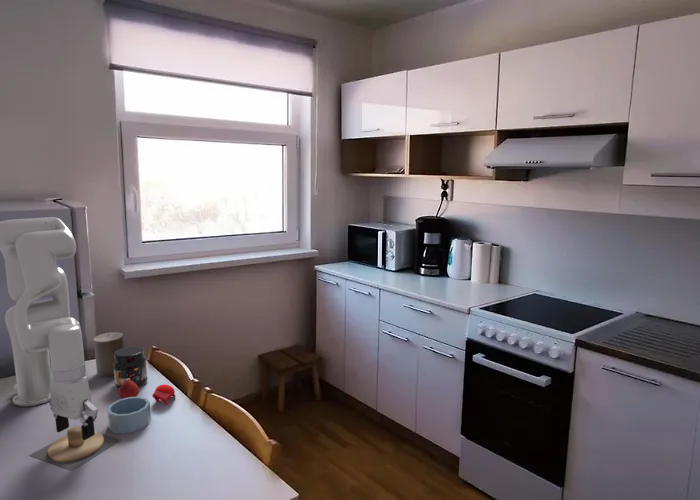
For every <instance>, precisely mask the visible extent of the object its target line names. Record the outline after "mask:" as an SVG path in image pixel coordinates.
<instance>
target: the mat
mask: <svg viewBox="0 0 700 500" xmlns="http://www.w3.org/2000/svg"><path fill="white" fill-rule="evenodd" d="M101 434H102V435H103V438H104V443H103V446H102V447H101V448H100V449H99V450H98V451H97V452H95V453H94V454H92V455H90V456H88V457H85V458H83V459H79V460H76V461H70V462H57V461H53V460H51V459H50V458H49V456H48V449H49V447H50V446H51V444H52V443H54V442H55V441H53V442H51V443H49V444H47V445H45V446H44V447H42V448H40V449H39V450H36V451H34V452H32V453H31V454H29V457H32V458H35V459H37V460H41V461H42V462H46V463H48V464H52V465H54V466H56V467H60V468H63V469H66V470H68V471H71V472H73V471H75V470H76V469H77V468H80V467H81V466H83V465H84V464H86V463H87V462H90V460H92V459H94V458H96V457H97V456H98V455H101V454H102V453H103V452H106V451H107V450H108V449H110V448H112V447H113V446H114V445H117V444H119V443H120V442H121V441H122V439H120V438H117V437H114V436H110V435H107V434H104V433H101Z"/></svg>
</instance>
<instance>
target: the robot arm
mask: <svg viewBox="0 0 700 500" xmlns="http://www.w3.org/2000/svg"><path fill="white" fill-rule="evenodd" d="M76 243H77V242H76V239H75V237H74V235H73V233H72V231H71V230H70V228H68V226H67V225H66V224H65V222H63V221H62V220H61V219H60V218H58V217H54V216H52V217H51V216H50V217H48V216H47V217H46V216H45V217H35V218H16V219H15V218H14V219H6V220H2V221H0V252H1V253H2V256H3V261H4V266H5V267H4V268H5V275H6V276H5V277H6V286H7V292H8V295H9V297H10V298H11V299H12V300H13V301H16V304H15V305H13V306H11V307H10V308H8V309H7V310H6V312H5V315H4V321H5V324H6V328H7V331H8V334H9V337H10V341H11V348H12V356H13V364H14V371H15V380H16V383H15V384H14V385H13V389H15V390H16V391H17V392H16V395H14V396H13V398H12V403H13V405H15V406H17V405H18V406H17V407H33V406H37V405H42V404H46V403H49V406H50V410H51V412H52V413H53V415H52V416H53V417H54V418H55V429H56V432H57V433H60V432H63V431H64V430H65V431H66V429H67V430H68V428H70V423H69V419H71V420H78V419H79V421H80V422H81V424H82V425H81V426H80V427H81V429H82V439H83V440H86V439H88V438H90V437H92V436H93V435H94V434H95V426H94V425H95V423H94V422H95V421H96V419H97V417H98V412H99V408H98V407H96V406H95V405H94V404H93V403H92V396H91V395H92V394H91V389H90V385H89V382H88V378H87V372H86V371H87V370H86V363H85V354H84V351H85V350H84V343H83V334H82V329H81V324H80V322H79V321H78V320H77V319H76V318H74V317H71V309H70V308H71V307H70V306H71V305H70V295H69V294H70V293H69V282H68V278H67V274H66V273H65V271H64V270H63V269H62V268H61V267H59V266H58V264H57V260H61V259H69V258H72V257H74V256H75V254H76V251H77V244H76ZM43 298H49V299H43ZM38 299H43V300H38ZM85 416H87V418H85Z"/></svg>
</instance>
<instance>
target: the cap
mask: <svg viewBox="0 0 700 500" xmlns="http://www.w3.org/2000/svg"><path fill="white" fill-rule="evenodd" d="M175 393H176V391H175V389H174V387H173V386H171V385H169V384H160V385H157V387H155V390H154V392H153V393H152V395H151V396H152V397H153V399H154V400H155V402H156V403H160V401H161V402H162V403H163V404H164V405H165V406H168V405H169V403H168V400H169V399H171V398H176V396H177V395H176V394H175Z"/></svg>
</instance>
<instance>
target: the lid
mask: <svg viewBox="0 0 700 500" xmlns="http://www.w3.org/2000/svg"><path fill="white" fill-rule="evenodd" d="M66 431H67V434H65V435H64V436H62V437H60V438H58V439H57V440H54V441H53V442H54V443H53V442H51V443H52V444H51V443H50V444H51V446H50V447H49V449H48V456H49V458H50V459H51V460H53V461H57V462H70V461H76V460H79V459H83V458H85V457H88V456H90V455H92V454H94V453H95V452H97V451H98V450H99V449H100V448H101V447H102V446H103V443H104V438H103V435H102V434H103V433H101V432H99V431H95V430H94V431H95V434H94V435H93V436H92V437H90V438H88V439H86V440H83V439H82V429H81V426H75V427H71V428H69V429H67V430H66Z"/></svg>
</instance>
